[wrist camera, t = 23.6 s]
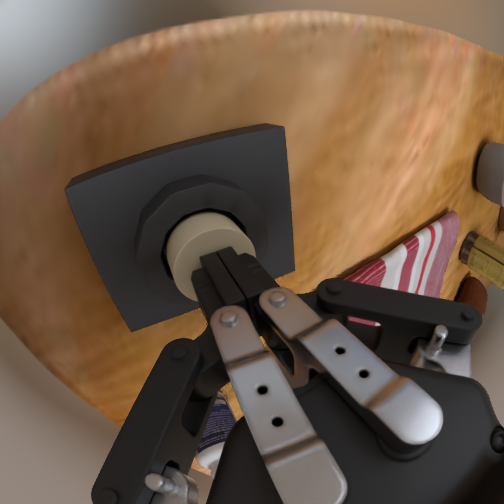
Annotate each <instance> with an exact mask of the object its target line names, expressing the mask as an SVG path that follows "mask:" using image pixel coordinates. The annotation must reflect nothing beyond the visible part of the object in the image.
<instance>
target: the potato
mask: <svg viewBox="0 0 504 504" xmlns="http://www.w3.org/2000/svg"><path fill="white" fill-rule="evenodd" d="M456 302H461V303H467V304H470V305H472V306H474V307H475V308H476V309H477V310H478V311H479V312H480V314H481V316H482V315H483V314H484V313H485V310H486V306H487V291H486V289H485V287H484V286H483V284H482V283H481V282H480V281H479V280H478V279H476V278H475V277H468V278H467V279H466V280H465V281H464V284H463V286H462V288H461V291H460V294H459V296H458V298H457V300H456Z"/></svg>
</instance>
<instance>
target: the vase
mask: <svg viewBox="0 0 504 504" xmlns="http://www.w3.org/2000/svg"><path fill="white" fill-rule="evenodd" d="M499 225H500V227H501V228H502V230H503V231H504V207H502V208H501V212H500V216H499Z"/></svg>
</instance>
